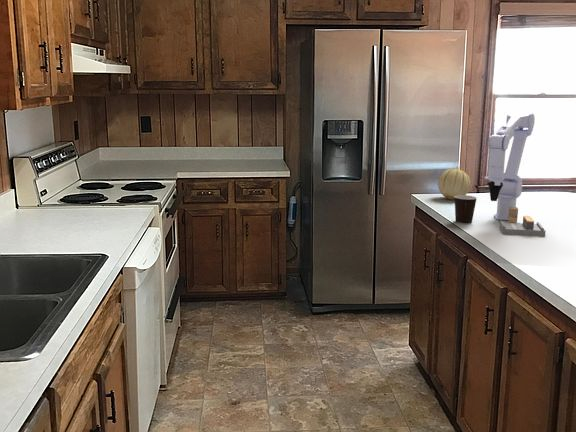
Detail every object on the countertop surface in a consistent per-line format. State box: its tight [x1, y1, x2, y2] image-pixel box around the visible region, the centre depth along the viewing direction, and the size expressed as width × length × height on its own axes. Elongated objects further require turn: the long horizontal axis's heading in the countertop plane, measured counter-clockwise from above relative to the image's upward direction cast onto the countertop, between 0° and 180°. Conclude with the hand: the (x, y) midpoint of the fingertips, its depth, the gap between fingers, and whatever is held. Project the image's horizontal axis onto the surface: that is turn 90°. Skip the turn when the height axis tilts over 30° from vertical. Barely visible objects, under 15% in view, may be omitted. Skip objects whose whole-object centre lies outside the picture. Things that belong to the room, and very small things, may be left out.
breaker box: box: [498, 220, 547, 237], centre depth 242 cm, size 11×15×3 cm
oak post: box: [507, 206, 519, 223], centre depth 251 cm, size 3×3×7 cm
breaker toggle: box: [522, 215, 535, 229], centre depth 241 cm, size 9×2×3 cm, turn 169°
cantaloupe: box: [437, 166, 471, 200], centre depth 302 cm, size 15×15×15 cm
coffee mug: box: [453, 194, 478, 224], centre depth 255 cm, size 12×9×10 cm
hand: (493, 200), depth 249 cm, fingers closed
